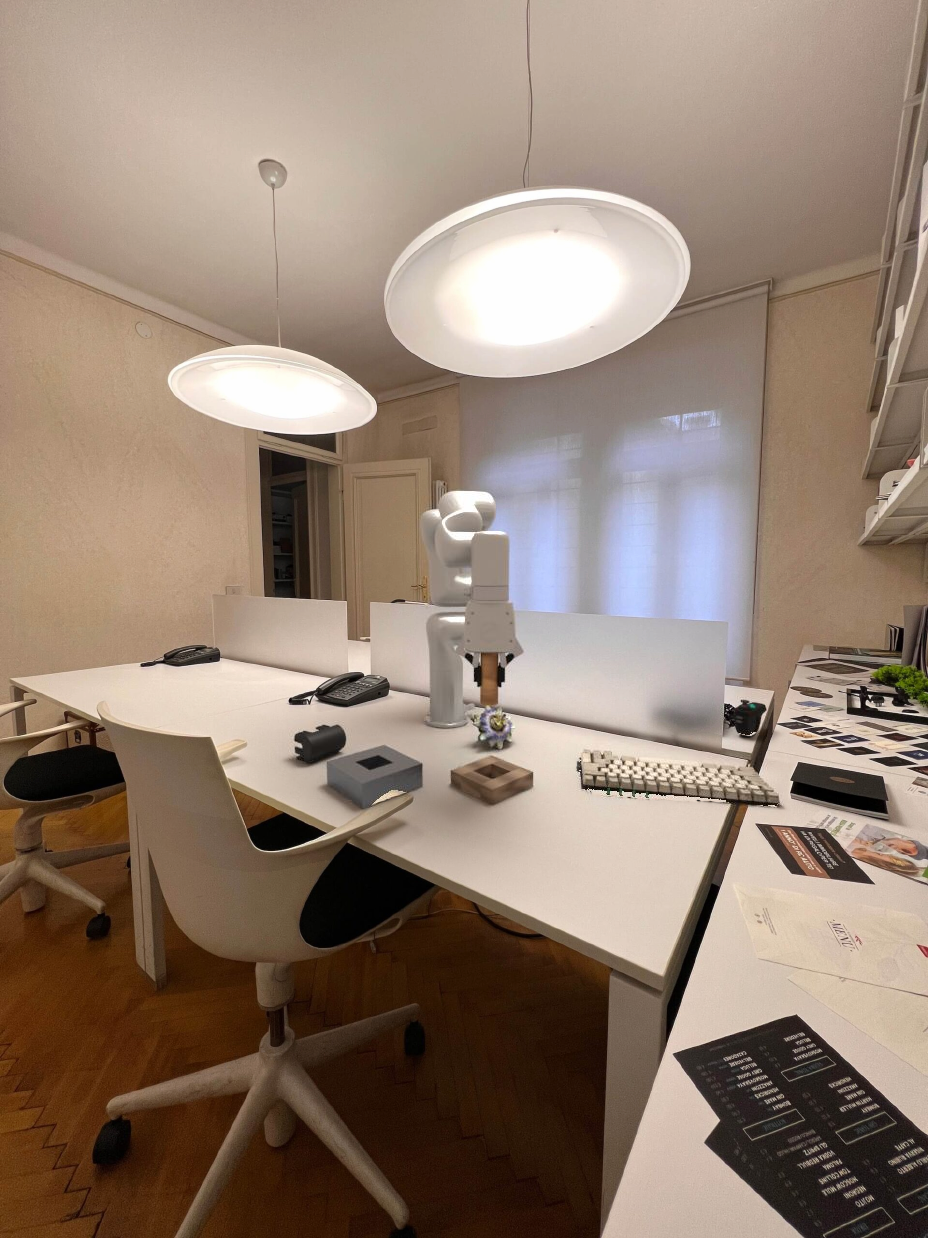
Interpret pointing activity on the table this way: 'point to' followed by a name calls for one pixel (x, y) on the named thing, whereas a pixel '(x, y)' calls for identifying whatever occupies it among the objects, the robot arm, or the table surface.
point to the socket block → (373, 774)
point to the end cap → (319, 742)
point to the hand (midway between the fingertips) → (489, 684)
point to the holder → (489, 790)
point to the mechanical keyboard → (673, 778)
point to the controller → (748, 717)
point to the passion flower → (494, 727)
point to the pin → (489, 679)
